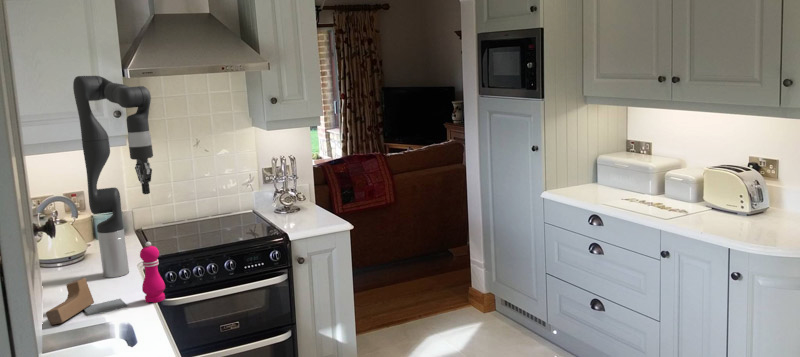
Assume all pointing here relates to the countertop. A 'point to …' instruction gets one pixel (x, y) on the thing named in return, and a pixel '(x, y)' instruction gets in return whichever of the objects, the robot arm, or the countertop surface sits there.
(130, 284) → the countertop surface
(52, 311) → the wooden block
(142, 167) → the robot arm
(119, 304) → the grey mat
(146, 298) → the pepper mill
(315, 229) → the countertop surface
